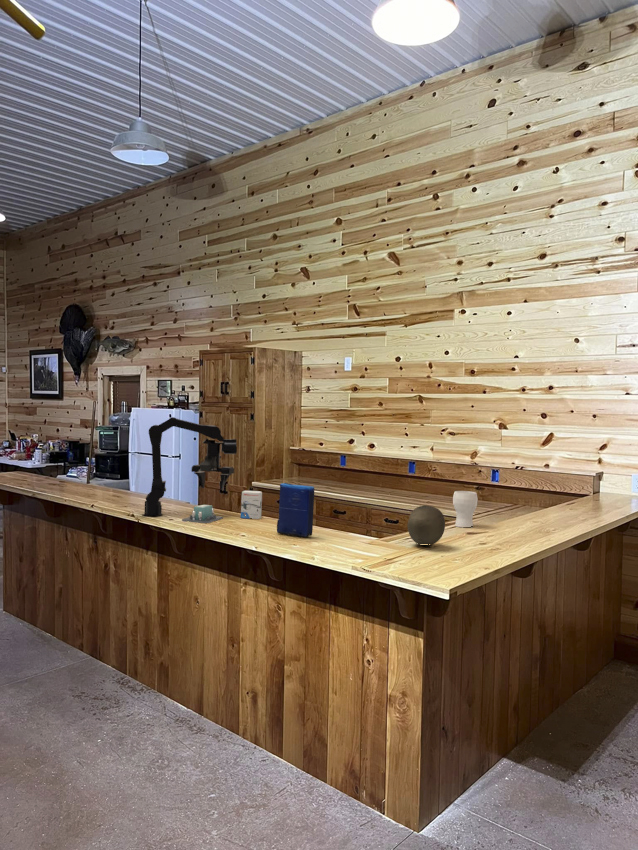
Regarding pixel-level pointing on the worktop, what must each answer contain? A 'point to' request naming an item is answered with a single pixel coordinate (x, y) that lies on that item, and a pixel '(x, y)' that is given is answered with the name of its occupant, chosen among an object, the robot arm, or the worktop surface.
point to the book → (295, 510)
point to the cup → (464, 507)
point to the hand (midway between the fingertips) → (212, 488)
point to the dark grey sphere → (426, 525)
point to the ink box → (251, 504)
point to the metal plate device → (199, 520)
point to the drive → (203, 511)
